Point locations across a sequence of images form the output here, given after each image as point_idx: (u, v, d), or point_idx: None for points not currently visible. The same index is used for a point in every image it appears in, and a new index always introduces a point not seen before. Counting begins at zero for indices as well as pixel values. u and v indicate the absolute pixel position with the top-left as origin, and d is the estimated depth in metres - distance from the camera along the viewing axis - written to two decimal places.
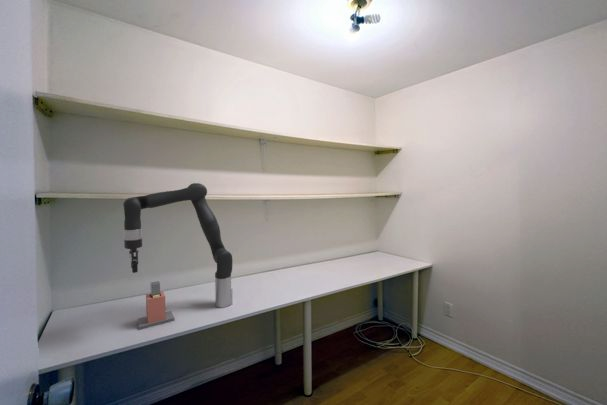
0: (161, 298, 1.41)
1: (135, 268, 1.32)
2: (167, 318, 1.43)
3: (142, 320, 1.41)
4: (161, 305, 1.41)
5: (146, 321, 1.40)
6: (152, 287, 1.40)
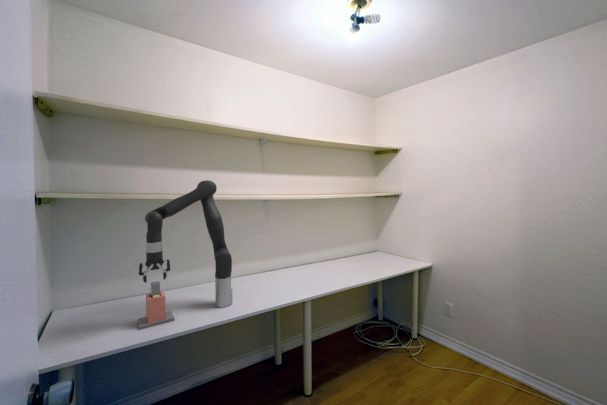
0: (161, 298, 1.41)
1: None
2: (167, 318, 1.43)
3: (142, 320, 1.41)
4: (161, 305, 1.41)
5: (146, 321, 1.40)
6: (152, 287, 1.40)
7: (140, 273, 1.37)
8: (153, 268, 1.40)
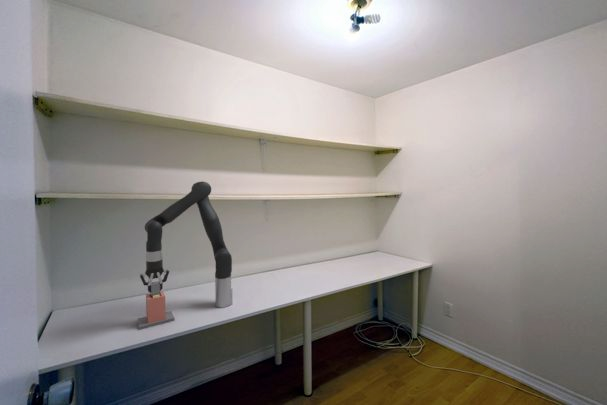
0: (161, 298, 1.41)
1: None
2: (167, 318, 1.43)
3: (142, 320, 1.41)
4: (161, 305, 1.41)
5: (146, 321, 1.40)
6: (152, 287, 1.40)
7: (145, 283, 1.38)
8: (155, 276, 1.41)
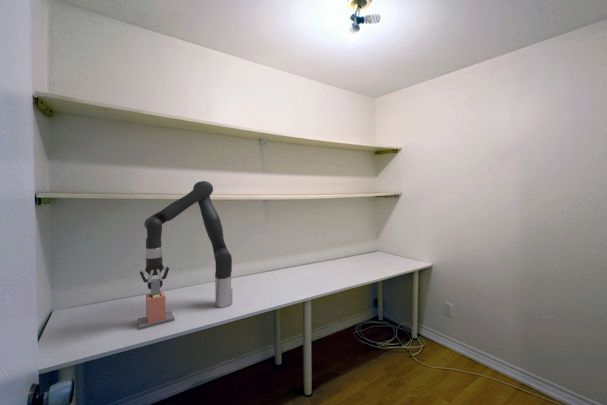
0: (161, 298, 1.41)
1: None
2: (167, 318, 1.43)
3: (142, 320, 1.41)
4: (161, 305, 1.41)
5: (146, 321, 1.40)
6: (152, 284, 1.39)
7: (145, 280, 1.38)
8: (154, 273, 1.41)
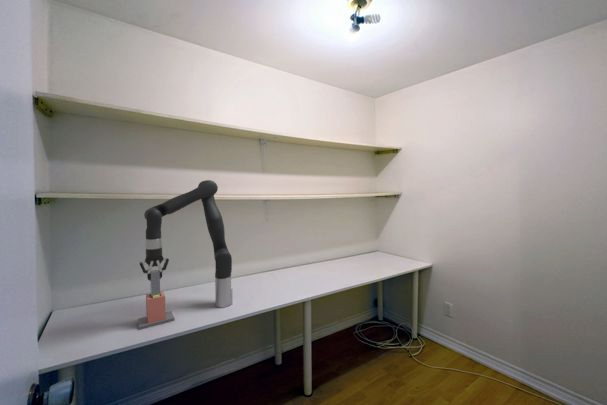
0: (161, 298, 1.41)
1: (161, 274, 1.44)
2: (167, 318, 1.43)
3: (142, 320, 1.41)
4: (161, 305, 1.41)
5: (146, 321, 1.40)
6: (152, 275, 1.39)
7: (144, 271, 1.38)
8: (154, 264, 1.40)
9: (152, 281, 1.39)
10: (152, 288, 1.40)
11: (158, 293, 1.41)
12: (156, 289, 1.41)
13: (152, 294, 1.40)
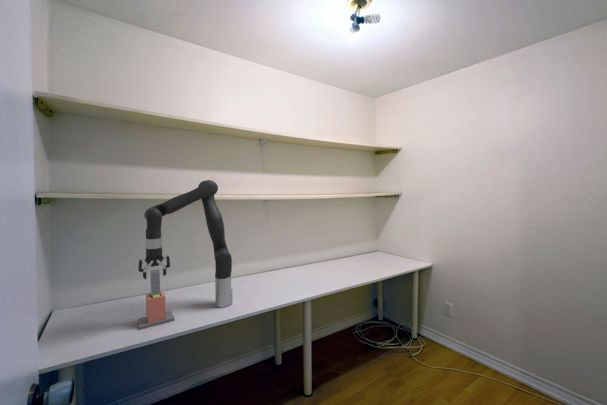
0: (161, 298, 1.41)
1: None
2: (167, 318, 1.43)
3: (142, 320, 1.41)
4: (161, 305, 1.41)
5: (146, 321, 1.40)
6: (152, 275, 1.39)
7: (140, 269, 1.37)
8: (153, 264, 1.40)
9: (152, 281, 1.39)
10: (152, 288, 1.40)
11: (158, 293, 1.41)
12: (156, 289, 1.41)
13: (152, 294, 1.40)
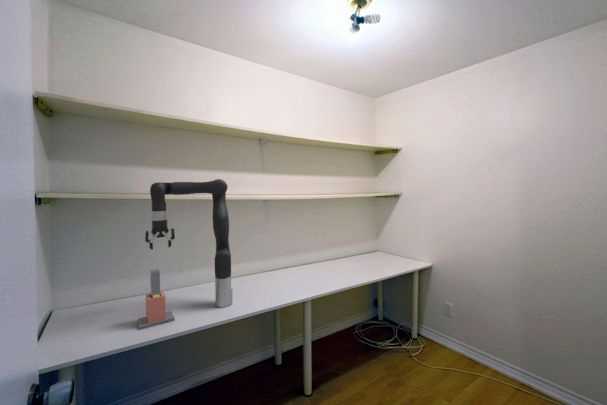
0: (161, 298, 1.41)
1: None
2: (167, 318, 1.43)
3: (142, 320, 1.41)
4: (161, 305, 1.41)
5: (146, 321, 1.40)
6: (152, 275, 1.39)
7: (147, 240, 1.44)
8: (159, 236, 1.48)
9: (152, 281, 1.39)
10: (152, 288, 1.40)
11: (158, 293, 1.41)
12: (156, 289, 1.41)
13: (152, 294, 1.40)
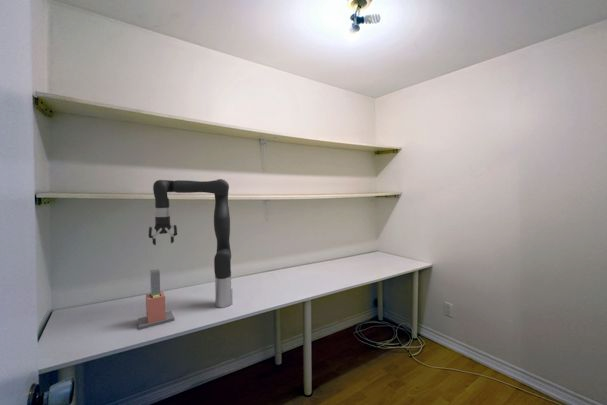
0: (161, 298, 1.41)
1: None
2: (167, 318, 1.43)
3: (142, 320, 1.41)
4: (161, 305, 1.41)
5: (146, 321, 1.40)
6: (152, 275, 1.39)
7: (150, 236, 1.49)
8: (161, 232, 1.52)
9: (152, 281, 1.39)
10: (152, 288, 1.40)
11: (158, 293, 1.41)
12: (156, 289, 1.41)
13: (152, 294, 1.40)
